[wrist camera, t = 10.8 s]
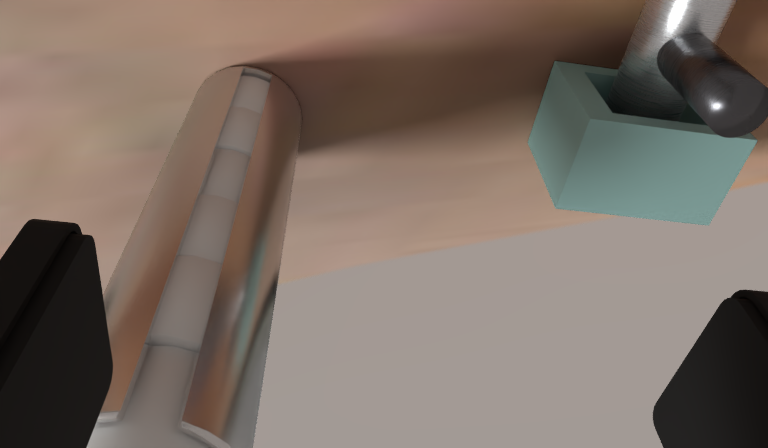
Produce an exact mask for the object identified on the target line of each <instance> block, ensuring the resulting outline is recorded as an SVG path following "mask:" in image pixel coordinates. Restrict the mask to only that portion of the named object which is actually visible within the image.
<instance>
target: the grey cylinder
mask: <svg viewBox="0 0 768 448" xmlns="http://www.w3.org/2000/svg"><path fill="white" fill-rule="evenodd" d="M301 124H302V114H301V109H300V105H299V103H298V101H297V98H296V96H295V94H294V93H293V91H292V90H291V89H290V88H289V87H288V86H287V84H286V83H285V82H284V81H282V80H281V79H279V78H278V77H277V76H275V75H274V74H272V73H270V72H267V71H265V70H263V69H260V68H256V67H249V66H236V67H228V68H226V69H223V70H220V71H218V72H216V73H214V74H213V75H212V76H210V77H209V78H208V79H206V80H205V81H204V83H203V84H202V86H201V87H200V88H199V90H198V91H197V94H196V96H195V98H194V100H193V102H192V104H191V106H190V109H189V111H188V113H187V115H186V117H185V119H184V121H183V124H182V126H181V128H180V130H179V132H178V134H177V137H176V139H175V141H174V143H173V145H172V147H171V149H170V152H169V154H168V156H167V158H166V160H165V162H164V164H163V167H162V169H161V171H160V173H159V175H158V177H157V180H156V182H155V184H154V186H153V188H152V190H151V192H150V195H149V197H148V199H147V201H146V203H145V205H144V207H143V210H142V212H141V214H140V216H139V218H138V220H137V222H136V225H135V227H134V229H133V231H132V233H131V235H130V238H129V240H128V242H127V244H126V246H125V248H124V250H123V253H122V255H121V257H120V259H119V261H118V263H117V265H116V268H115V270H114V272H113V274H112V276H111V278H110V281H109V283H108V285H107V287H106V289H105V291H104V293H103V300H104V307H105V314H106V320H107V327H108V334H109V340H110V347H111V353H112V360H113V375H112V380H111V385H110V388H109V391H108V393H107V396H106V399H105V401H104V404H103V406H102V409H101V411H100V414H99V417H98V419H97V422H96V424H95V427H94V430H93V432H92V435H91V437H90V440H89V442H88V445H87V448H253V443H254V437H255V429H256V424H257V417H258V410H259V403H260V397H261V391H262V384H263V377H264V371H265V364H266V357H267V351H268V344H269V338H270V331H271V324H272V318H273V310H274V304H275V298H276V291H277V285H278V278H279V271H280V265H281V258H282V252H283V245H284V238H285V232H286V225H287V218H288V212H289V205H290V199H291V192H292V185H293V179H294V172H295V166H296V159H297V152H298V146H299V139H300V132H301Z"/></svg>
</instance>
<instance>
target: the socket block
mask: <svg viewBox="0 0 768 448" xmlns="http://www.w3.org/2000/svg"><path fill="white" fill-rule="evenodd" d="M617 72H618V70H617V69H610V68H603V67H595V66H588V65H581V64H574V63H567V62H560V61H554V64H553V67H552V70H551V73H550V76H549V79H548V82H547V85H546V88H545V91H544V94H543V97H542V100H541V103H540V107H539V110H538V113H537V116H536V119H535V122H534V125H533V128H532V131H531V134H530V137H529V140H528V144H529V147H530V149H531V152H532V154H533V156H534V159H535V161H536V163H537V166H538V168H539V171H540V173H541V175H542V178H543V180H544V182H545V185H546V187H547V189H548V192H549V194H550V197H551V199H552V201H553V204H554V206H555V208H556V209H565V210H574V211H583V212H592V213H601V214H610V215H619V216H628V217H637V218H646V219H655V220H664V221H673V222H682V223H691V224H700V225H709V224H710V222H711V221H712V219H713V217H714V215H715V213H716V212H717V210H718V208H719V207H720V205H721V203H722V201H723V200H724V198H725V196H726V194H727V193H728V191H729V189H730V188H731V186H732V184H733V182H734V181H735V179H736V177H737V175H738V174H739V172H740V170H741V169H742V167H743V165H744V163H745V162H746V160H747V158H748V156H749V155H750V153H751V151H752V149H753V148H754V146H755V144H756V143H757V141H758V140H757V139H756V138H755V137H754V136H753V135H752V134H751V133H748V134H746V135H743V136H740V137H735V138H725V137H721V136H719V135H717V134H716V133H714V131H713V130H712V129H711V128H710V127H709V126H708V125H707V124H706V123H705V122H704V121H703V119H702V118H701V117H700V116H699V115H698V114H697V113H696V112H695V111H694V110H693V108H692V107H691V106H690V105H689V104H688V103H687V105H686V107H685V109H684V111H683V113H682V115H681V117H680V120H679V122H676V121H669V120H661V119H653V118H646V117H638V116H630V115H623V114H615V113H612V112H611V110H610V109H609V107H608V106H607V104H606V103H605V102H606V99H607V97H608V94H609V92H610V89H611V87H612V84H613V82H614V79H615V77H616V74H617Z"/></svg>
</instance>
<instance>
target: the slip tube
mask: <svg viewBox="0 0 768 448" xmlns="http://www.w3.org/2000/svg"><path fill="white" fill-rule="evenodd" d="M736 1H737V0H646V1H645V4H644V6H643V9H642V11H641V14H640V16H639V19H638V21H637V24H636V26H635V29H634V31H633V34H632V36H631V39H630V42H629V44H628V47H627V49H626V52H625V54H624V57H623V59H622V62H621V64H620V67H619V69H618V72H617V74H616V77H615V79H614V82H613V84H612V87H611V89H610V92H609V94H608V97H607V99H606V102H605V103H606V104H607V106H608V107H609V109H610V110H611V112H612V113H615V114H623V115H630V116H638V117H646V118H653V119H661V120H669V121H676V122H679V120H680V117H681V115H682V113H683V111H684V109H685V107H686V105H687V103H688V104H689V105H690V106H691V107H692V108H693V110H694V111H695V112H696V113H697V114H698V115H699V116H700V117H701V118H702V119H703V121H704V122H705V123H706V124H707V125H708V126H709V127H710V128H711V129H712V130H713V131H714V133H716V134H717V135H719V136H721V137H725V138H735V137H740V136H743V135H746V134H748V133H750V132H752V131H753V130H755V129H756V128H758V127H759V126H760V125H761V124H762V123H763V122H764V121H765V119H766V118H767V117H768V88H767V87H765V86H764V85H763V84H762V83H761V82H759V81H758V80H757V79H756V78H755V77H754V76H752V75H751V74H750V73H749V72H748V71H746V70H745V69H744V68H743V67H742V66H740V65H739V64H738V63H737V62H736V61H735V60H733V59H732V58H731V57H730V56H729V55H727V54H726V53H725V52H724V51H723V50H722V49H720V48H719V47H718V46H717V45H716V43H717V41H718V39H719V37H720V35H721V32H722V30H723V28H724V26H725V24H726V22H727V20H728V18H729V16H730V14H731V12H732V10H733V8H734V6H735V3H736Z"/></svg>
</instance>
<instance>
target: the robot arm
mask: <svg viewBox="0 0 768 448" xmlns="http://www.w3.org/2000/svg"><path fill="white" fill-rule="evenodd" d="M112 375H113V360H112V353H111V347H110V340H109V334H108V327H107V320H106V314H105V307H104V300H103V294H102V287H101V281H100V274H99V267H98V261H97V254H96V248H95V242H94V239H93V237H92V236H90V235H82V233H81V229H80V227H79V226H78V224H76V223H69V222H59V221H49V220H39V219H32V220H29V221H28V222H27V223H26V224H25V225H24V226H23V228H22V229H21V231H20V232H19V234H18V235H17V236H16V238H15V239H14V241H13V242H12V244H11V245H10V246H9V248H8V249H7V251H6V252H5V254H4V255H3V257H2V258H1V259H0V448H87V445H88V442H89V440H90V437H91V435H92V432H93V430H94V427H95V424H96V422H97V419H98V417H99V414H100V411H101V409H102V406H103V404H104V401H105V399H106V396H107V393H108V391H109V388H110V385H111V380H112ZM653 421H654V426H655V429H656V431H657V434H658V436H659V438H660V440H661V443H662V445H663V447H664V448H768V292H763V291H753V290H739V291H737V292H735V293H734V294H733V295H732V296H731V298H727V299H726V300H724V301H723V302H722V303H721V304H720V306H719V307H718V309H717V310H716V312H715V314H714V315H713V317H712V318H711V320H710V321H709V323H708V324H707V326H706V327H705V329H704V330H703V332H702V333H701V335H700V336H699V338H698V340H697V341H696V343H695V344H694V346H693V347H692V349H691V350H690V352H689V353H688V355H687V356H686V358H685V360H684V361H683V363H682V364H681V366H680V367H679V369H678V370H677V372H676V373H675V375H674V376H673V378H672V379H671V381H670V382H669V384H668V386H667V387H666V389H665V390H664V392H663V393H662V395H661V396H660V398H659V399H658V401H657V403H656V405H655V406H654V411H653Z"/></svg>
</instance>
